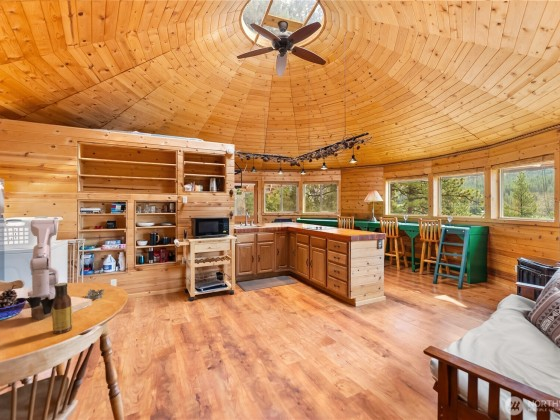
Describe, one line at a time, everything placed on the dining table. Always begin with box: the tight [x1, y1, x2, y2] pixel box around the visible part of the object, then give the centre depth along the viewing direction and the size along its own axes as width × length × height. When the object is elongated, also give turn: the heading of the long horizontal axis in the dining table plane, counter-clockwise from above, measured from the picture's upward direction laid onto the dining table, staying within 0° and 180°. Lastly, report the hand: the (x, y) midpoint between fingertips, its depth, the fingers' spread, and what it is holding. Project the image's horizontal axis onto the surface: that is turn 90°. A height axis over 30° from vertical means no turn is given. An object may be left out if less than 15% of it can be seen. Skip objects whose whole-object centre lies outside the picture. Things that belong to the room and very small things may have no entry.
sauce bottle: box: [51, 282, 73, 335], centre depth 107 cm, size 7×6×20 cm
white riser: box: [70, 296, 93, 314], centre depth 131 cm, size 14×12×3 cm
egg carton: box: [85, 288, 105, 300], centre depth 146 cm, size 11×8×4 cm
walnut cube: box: [30, 305, 52, 322], centre depth 120 cm, size 5×5×5 cm
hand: (41, 312), depth 120 cm, fingers open, 7 cm apart
